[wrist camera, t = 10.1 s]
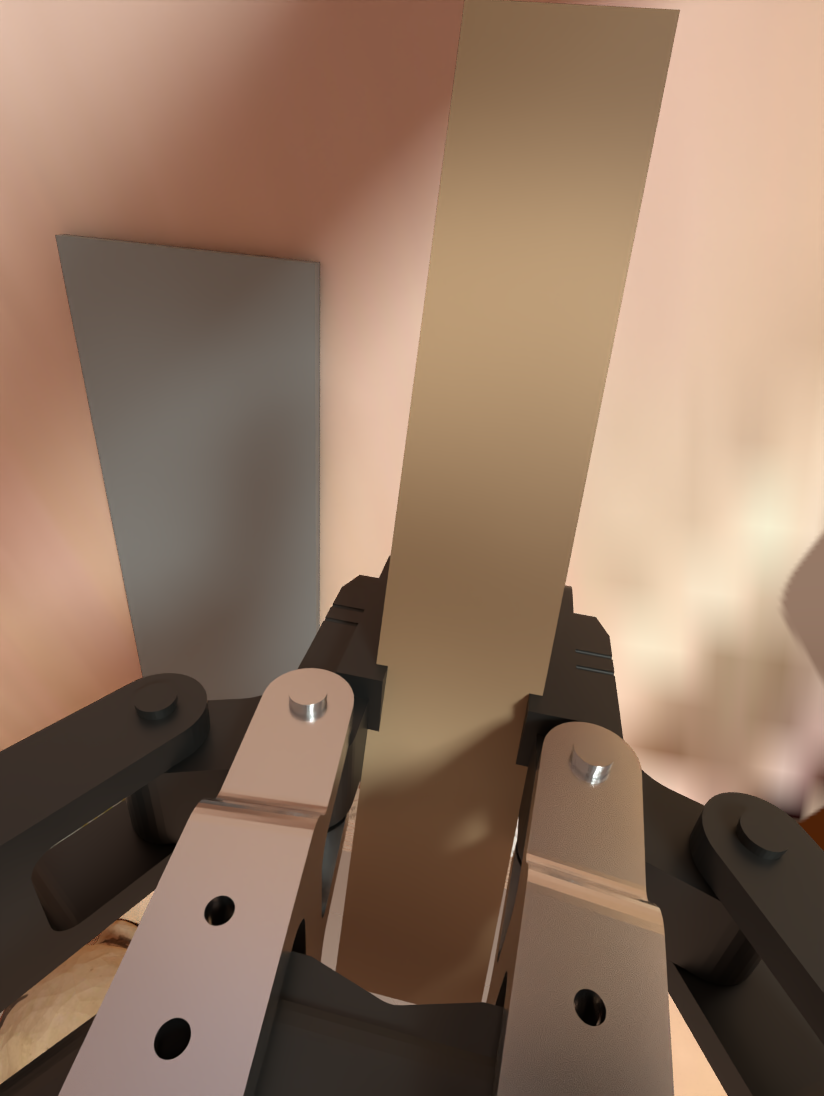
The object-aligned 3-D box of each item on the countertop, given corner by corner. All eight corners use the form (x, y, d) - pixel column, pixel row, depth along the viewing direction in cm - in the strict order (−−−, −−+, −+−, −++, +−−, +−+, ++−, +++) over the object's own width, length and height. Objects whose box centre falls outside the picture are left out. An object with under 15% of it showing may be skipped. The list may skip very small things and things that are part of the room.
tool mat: (64, 234, 27) (55, 235, 27) (319, 262, 26) (315, 263, 25) (151, 692, 41) (146, 698, 41) (319, 728, 40) (316, 734, 39)
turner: (383, 142, 11) (315, -10, 7) (724, 171, 10) (853, 20, 6) (277, 1076, 16) (203, 1287, 12) (506, 1141, 15) (505, 1388, 11)
